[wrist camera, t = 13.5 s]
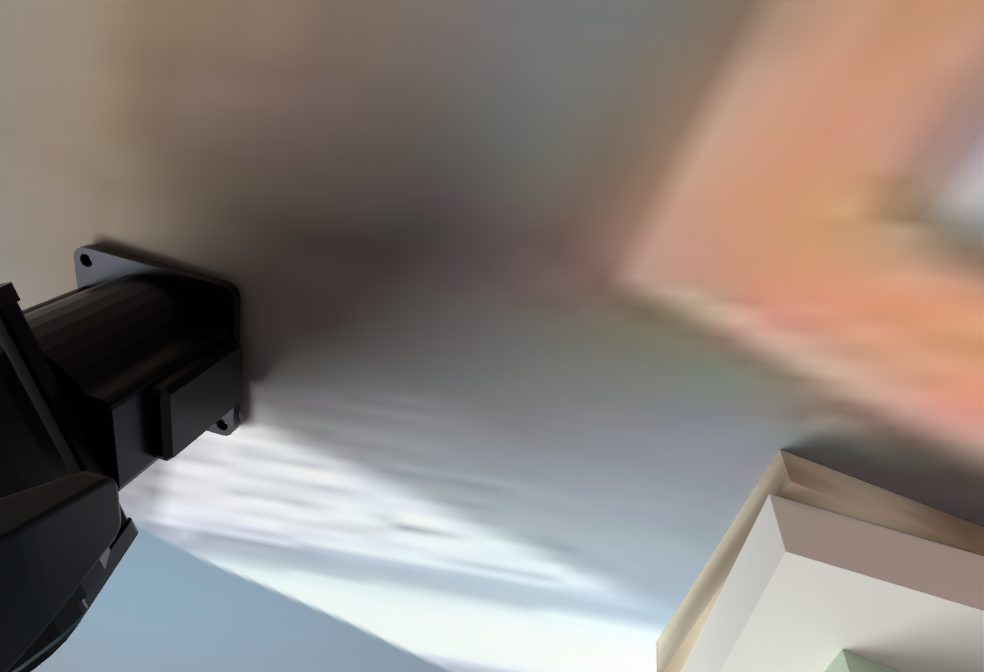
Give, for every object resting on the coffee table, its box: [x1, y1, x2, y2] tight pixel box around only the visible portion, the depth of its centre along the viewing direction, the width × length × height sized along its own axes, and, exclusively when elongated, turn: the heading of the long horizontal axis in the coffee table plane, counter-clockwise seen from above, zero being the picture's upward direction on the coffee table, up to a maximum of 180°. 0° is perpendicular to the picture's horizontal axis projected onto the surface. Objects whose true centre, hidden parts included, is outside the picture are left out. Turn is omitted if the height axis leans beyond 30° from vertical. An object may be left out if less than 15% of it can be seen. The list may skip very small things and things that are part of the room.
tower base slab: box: [656, 449, 984, 672], centre depth 22 cm, size 10×10×2 cm
